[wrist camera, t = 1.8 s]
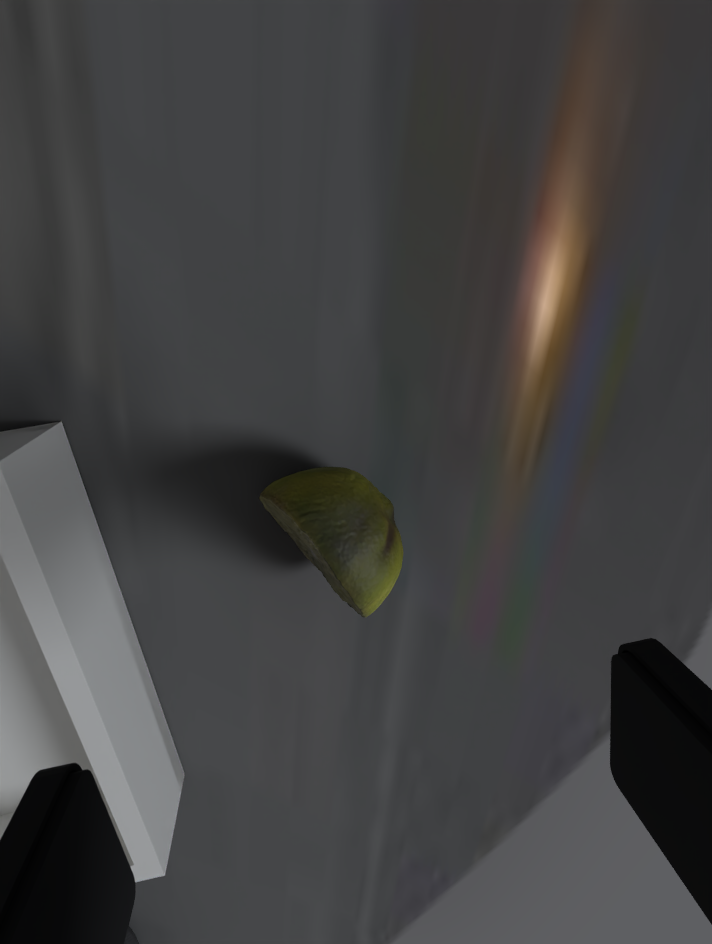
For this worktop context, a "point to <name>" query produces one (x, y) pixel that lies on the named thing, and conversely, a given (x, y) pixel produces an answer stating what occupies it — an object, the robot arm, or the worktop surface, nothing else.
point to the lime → (341, 531)
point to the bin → (75, 655)
